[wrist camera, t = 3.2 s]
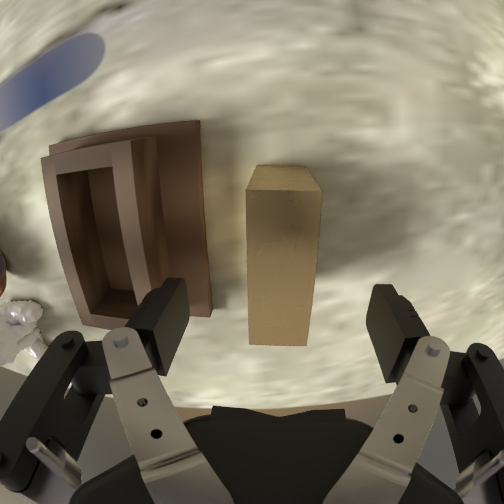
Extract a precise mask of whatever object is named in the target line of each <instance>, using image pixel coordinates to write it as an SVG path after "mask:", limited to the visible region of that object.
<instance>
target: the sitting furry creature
mask: <svg viewBox="0 0 504 504" xmlns="http://www.w3.org/2000/svg"><path fill="white" fill-rule="evenodd" d="M42 312H43V308H41V305H40V304H38V303H37V302H33V301H32V300H31V299H30V300H29V301H26V300H25V301H18V302H16V301H13V302H7V303H6V302H4V303H3V305H0V366H3V365H5V364H6V363H12V362H14V360H15V357H16V355H17V354H18V353H19V352H20V350H22V349H24V350H25V351H26V352H27V353H29V354H30V355H31V356H32V357H33V358H35V359H36V360H38V361H39V360H40V358H41V357H42V355H43V354H44V353H45V351H46V350H47V349H48V346H47V345H46V344H45V343H44V341H43V339H42V336H41V333H39V332H40V330H39V328H37V327H36V326H37V325H38V323H37V322H38V319H40V317H41V316H42Z"/></svg>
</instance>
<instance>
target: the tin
mask: <svg viewBox="0 0 504 504" xmlns="http://www.w3.org/2000/svg"><path fill="white" fill-rule="evenodd" d="M5 287H6V262H5V258H4V256H3V254H2V252H1V251H0V296H1V295H2V294H3V292H4V290H5Z"/></svg>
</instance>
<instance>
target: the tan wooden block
mask: <svg viewBox="0 0 504 504" xmlns="http://www.w3.org/2000/svg"><path fill="white" fill-rule="evenodd" d="M321 205H322V190H321V189H320V188H319V186H318V185H317V183H316V182H315V180H314V179H313V177H312V176H311V174H310V173H309V172H308V170H307V169H306V167H305V166H269V165H257V166H256V168H255V170H254V172H253V174H252V177H251V179H250V181H249V183H248V186H247V188H246V235H247V282H248V325H249V345H272V346H307V339H308V332H309V325H310V317H311V309H312V301H313V293H314V284H315V275H316V265H317V255H318V244H319V232H320V219H321Z"/></svg>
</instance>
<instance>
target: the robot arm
mask: <svg viewBox="0 0 504 504" xmlns="http://www.w3.org/2000/svg"><path fill="white" fill-rule="evenodd" d="M189 317H190V308H189V301H188V294H187V286H186V281H185V279H184V278H171V277H167V278H166V279H165V281H164V282H163V284H162V285H161V287H160V288H154V289H153V290H151V291H150V292H149V293H147V294H146V295H145V297H144V298H143V300H142V303H140V304H139V306H138V309H136V310H135V312H134V313H133V314H132V316H131V317H130V319H129V320H128V322H127V323H126V325H125V326H124V327H121V328H116V329H114V330H111V331H110V332H108V333H107V334H106V335H105V336H104V338H103V341H90V342H85V340H84V338H83V335H82V334H81V333H80V332H78V331H66V332H64V333H61V334H60V335H58V336H57V337H56V338H55V339H54V340H53V342H52V343H51V344H50V346H49V347H48V349H47V350H46V351H45V353H44V354H43V355H42V357H41V358H40V360H39V361H38V363H37V364H36V365H35V367H34V368H33V370H32V371H31V373H30V374H29V376H28V377H27V379H26V380H25V382H24V383H23V385H22V386H21V388H20V390H19V391H18V393H17V395H16V396H15V397H14V399H13V401H12V402H11V404H10V406H9V407H8V409H7V411H6V412H5V414H4V416H3V418H2V419H1V421H0V483H1V484H2V485H4V486H5V487H6V488H7V489H8V490H9V491H11V492H12V493H14V494H15V495H17V496H18V497H20V498H22V499H23V500H25V501H26V502H28V503H30V504H504V369H503V367H502V365H501V364H500V362H499V360H498V358H497V357H496V355H495V353H494V352H493V351H492V349H490V348H489V347H488V346H486V345H484V344H481V343H473V344H471V345H470V346H469V348H468V350H467V351H466V353H460V352H453V351H450V348H449V346H448V345H447V344H446V343H445V342H444V341H443V340H442V339H440V338H437V337H434V336H430V334H429V332H428V330H427V329H426V327H425V325H424V324H423V322H422V320H421V319H420V317H419V315H418V314H417V312H416V311H415V309H414V307H413V306H412V304H411V302H410V301H408V300H407V299H406V298H405V297H403V296H402V295H398V293H397V292H396V290H395V288H394V287H393V285H392V284H375V285H374V287H373V290H372V294H371V298H370V303H369V307H368V311H367V315H366V326H367V330H368V332H369V335H370V338H371V341H372V344H373V346H374V349H375V352H376V355H377V358H378V361H379V364H380V367H381V370H382V373H383V376H384V379H385V382H386V383H393V382H396V384H397V387H396V389H395V391H394V393H393V395H392V397H391V399H390V401H389V402H388V404H387V406H386V408H385V410H384V412H383V413H382V415H381V417H380V418H379V420H378V422H377V424H376V425H375V427H374V428H373V427H371V426H369V425H367V424H365V423H363V422H361V421H358V420H354V419H350V418H346V416H345V410H344V409H331V410H330V409H329V410H311V411H307V412H303V413H298V414H293V415H288V416H283V417H276V416H272V415H268V414H264V413H260V412H256V411H252V410H249V409H245V408H232V407H221V406H213V407H212V412H211V414H210V415H203V416H198V417H195V418H191V419H189V420H186V421H184V422H182V420H181V419H180V417H179V415H178V413H177V411H176V410H175V408H174V406H173V404H172V402H171V400H170V398H169V396H168V394H167V392H166V390H165V388H164V386H163V384H162V382H161V380H160V378H159V376H158V375H161V376H167V373H168V371H169V368H170V366H171V363H172V361H173V358H174V356H175V353H176V351H177V348H178V346H179V344H180V341H181V339H182V336H183V334H184V331H185V329H186V327H187V324H188V322H189ZM70 382H71V383H72V386H71V388H70V390H69V392H68V393H67V395H66V397H65V399H64V394H65V391H66V389H67V388H68V386H69V384H70ZM105 394H113V396H114V400H115V403H116V405H117V409H118V412H119V415H120V418H121V421H122V424H123V427H124V430H125V432H126V435H127V438H128V440H129V443H130V445H131V448H132V451H133V453H134V454H133V455H131V456H130V457H128V458H127V459H125V460H123V461H122V462H120V463H118V464H117V465H115V466H113V467H112V468H110V469H108V470H107V471H105V472H103V473H101V474H99V475H98V476H96V477H94V478H92V479H90V480H89V481H87V482H85V483H84V484H82V480H81V475H82V474H81V468H80V465H79V464H78V462H77V461H78V458H79V456H80V453H81V450H82V448H83V446H84V443H85V440H86V438H87V436H88V433H89V431H90V428H91V426H92V424H93V421H94V419H95V416H96V414H97V412H98V410H99V407H100V405H101V403H102V401H103V398H104V396H105ZM475 394H476V395H477V397H478V399H479V402H480V404H481V414H480V416H479V414H478V411H477V408H476V406H475V403H474V401H473V399H472V398H473V396H474V395H475ZM439 404H440V406H441V409H442V412H443V415H444V418H445V421H446V425H447V428H448V431H449V435H450V438H451V442H452V446H453V449H454V453H455V457H456V461H457V465H458V469H459V475H458V477H457V479H456V483H455V488H454V490H452V489H451V488H450V487H448V486H447V485H446V484H444V483H443V482H441V481H440V480H439V479H437V478H436V477H435V476H433V475H432V474H431V473H429V472H428V471H427V470H425V469H424V468H423V467H422V466H420V465H419V464H418V463H417V460H418V457H419V455H420V453H421V451H422V448H423V446H424V444H425V441H426V439H427V437H428V434H429V432H430V429H431V426H432V424H433V421H434V418H435V416H436V413H437V410H438V407H439Z"/></svg>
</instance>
